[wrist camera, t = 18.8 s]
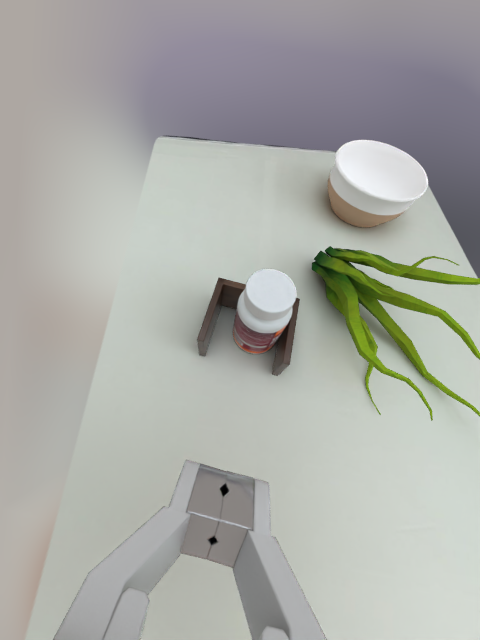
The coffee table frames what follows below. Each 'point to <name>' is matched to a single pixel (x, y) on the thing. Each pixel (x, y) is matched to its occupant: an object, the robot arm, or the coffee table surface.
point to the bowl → (373, 183)
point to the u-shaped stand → (229, 296)
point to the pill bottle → (263, 310)
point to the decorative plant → (358, 287)
